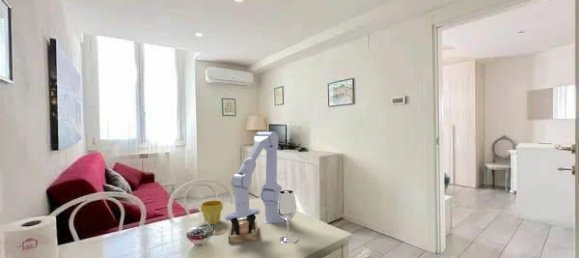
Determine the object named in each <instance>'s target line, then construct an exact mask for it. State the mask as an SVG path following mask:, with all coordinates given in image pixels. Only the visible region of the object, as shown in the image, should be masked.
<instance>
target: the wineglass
mask: <svg viewBox="0 0 579 258" xmlns="http://www.w3.org/2000/svg"><path fill="white" fill-rule="evenodd" d="M295 197H296V196H295V193H294V191H293V190H290V189H285V190H282V191H280V194H279V200H278V214H279V215H280V217H281V218H283V219H284V221H286V222H285V223H286V235H285V236H283V235H282V236H281V237H280V238H279V242H280V243H283V244H293V243H297V241H298V238H297V236H295V235H290V233H289V232H290V230H289V228H290V227H289V222H290V220H292V219H293V218H294V217H295V216H296V214H297V209H298V208H297V207H298V206H297V201H296V198H295Z"/></svg>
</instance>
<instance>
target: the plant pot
mask: <svg viewBox="0 0 579 258" xmlns="http://www.w3.org/2000/svg"><path fill="white" fill-rule="evenodd" d="M223 204H224V203H223V201H222V200H216V199H215V200H214V199H213V200H208V201H203V202H201V204H200V211H201V212H202V216H203V220H204V222H205V221H208V223H209V224H212V225H216V224H219V223H220V220H221V215H222V210H223V209H224V205H223ZM212 225H211V226H212Z"/></svg>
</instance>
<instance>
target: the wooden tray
mask: <svg viewBox="0 0 579 258" xmlns="http://www.w3.org/2000/svg"><path fill="white" fill-rule="evenodd" d="M257 223H258V221H257V220H255V221H254V223H253V226H252V231H251V233H249V234H242V235H236V233H235V229H234V227H233V225H232V223H229V229H228V235H227V236H228V244H233V243H242V242H244V243H245V242H251V241H253V242H254V241H259V230H258V229H259V228H258V224H257Z"/></svg>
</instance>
